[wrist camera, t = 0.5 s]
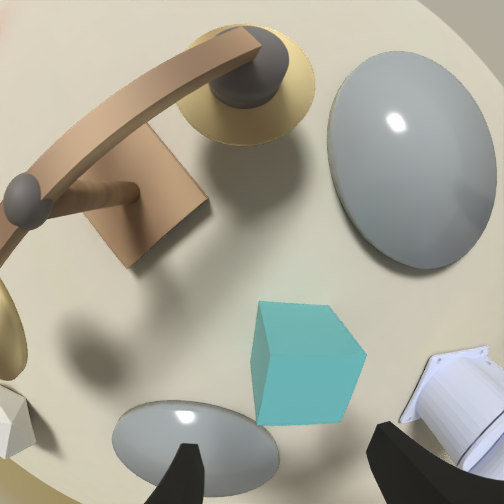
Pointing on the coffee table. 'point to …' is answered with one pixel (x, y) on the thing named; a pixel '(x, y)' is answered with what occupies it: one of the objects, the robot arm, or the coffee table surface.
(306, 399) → the block
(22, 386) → the coffee table surface
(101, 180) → the balance
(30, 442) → the die
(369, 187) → the dish low side
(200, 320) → the coffee table surface
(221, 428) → the grey round disc
